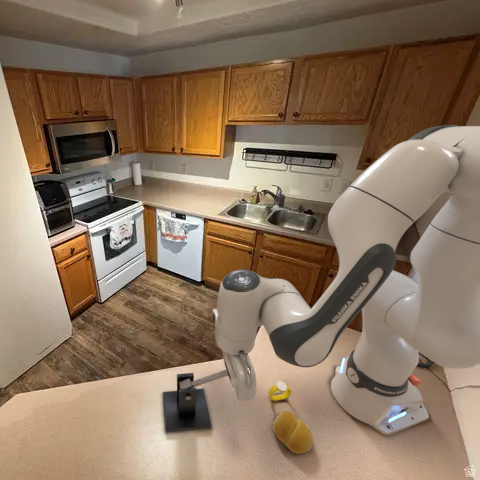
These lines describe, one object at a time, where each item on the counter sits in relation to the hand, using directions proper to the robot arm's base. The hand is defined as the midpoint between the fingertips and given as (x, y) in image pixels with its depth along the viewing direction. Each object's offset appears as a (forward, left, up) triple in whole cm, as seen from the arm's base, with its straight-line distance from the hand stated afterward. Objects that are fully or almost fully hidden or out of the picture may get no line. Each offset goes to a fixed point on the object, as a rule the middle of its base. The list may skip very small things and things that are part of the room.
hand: (230, 372), depth 66 cm
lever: (+6, 0, -3) cm, 6 cm away
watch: (-16, -1, -16) cm, 22 cm away
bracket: (+11, 0, -15) cm, 19 cm away
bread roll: (-15, +8, -16) cm, 23 cm away
